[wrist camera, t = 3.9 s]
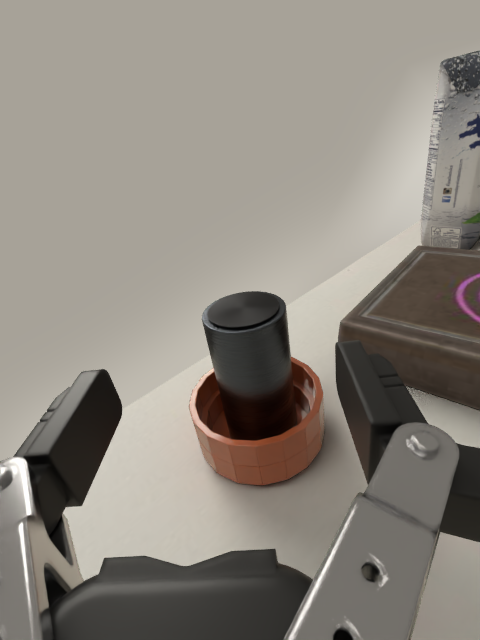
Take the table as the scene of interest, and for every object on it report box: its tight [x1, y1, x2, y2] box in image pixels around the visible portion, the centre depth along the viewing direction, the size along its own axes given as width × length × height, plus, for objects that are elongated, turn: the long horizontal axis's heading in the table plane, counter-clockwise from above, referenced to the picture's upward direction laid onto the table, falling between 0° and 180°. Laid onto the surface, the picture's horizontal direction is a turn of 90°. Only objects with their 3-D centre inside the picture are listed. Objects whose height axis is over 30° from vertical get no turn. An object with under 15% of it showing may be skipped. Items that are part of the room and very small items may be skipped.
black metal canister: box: [202, 291, 297, 441], centre depth 25 cm, size 6×6×11 cm
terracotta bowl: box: [189, 357, 325, 485], centre depth 27 cm, size 10×10×4 cm
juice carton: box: [421, 51, 480, 250], centre depth 50 cm, size 9×10×27 cm
